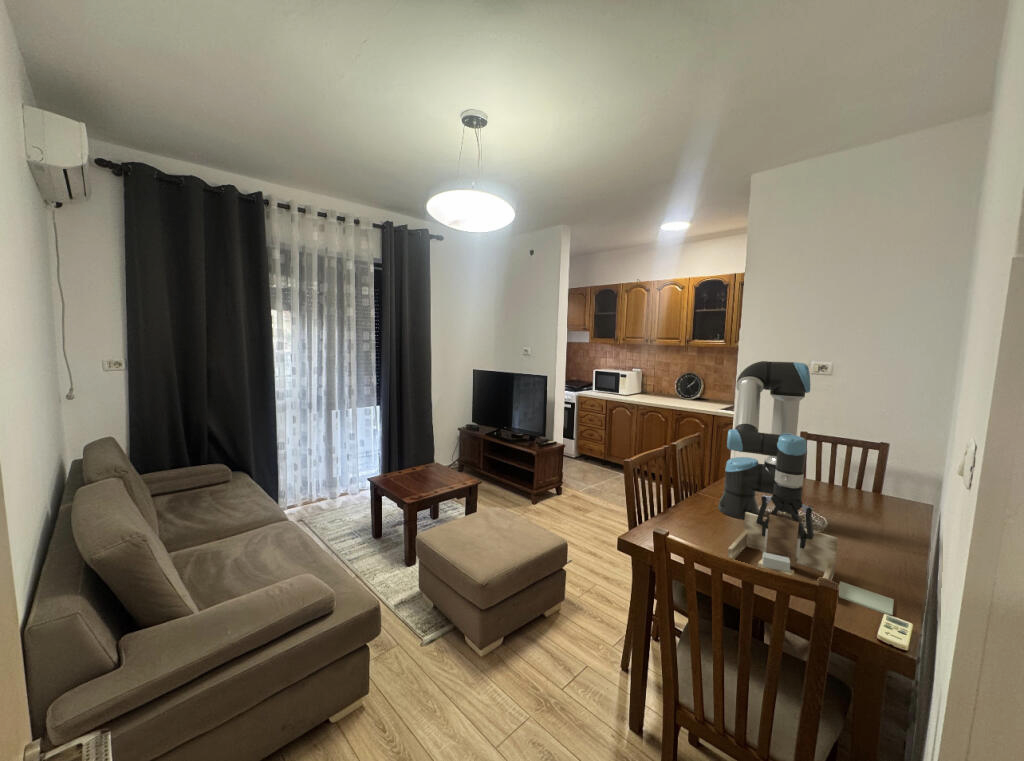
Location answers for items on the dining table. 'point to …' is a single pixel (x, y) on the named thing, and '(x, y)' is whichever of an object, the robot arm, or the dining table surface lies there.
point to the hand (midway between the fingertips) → (781, 551)
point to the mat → (866, 598)
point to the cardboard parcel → (782, 536)
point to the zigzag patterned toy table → (814, 554)
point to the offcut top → (776, 562)
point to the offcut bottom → (775, 569)
